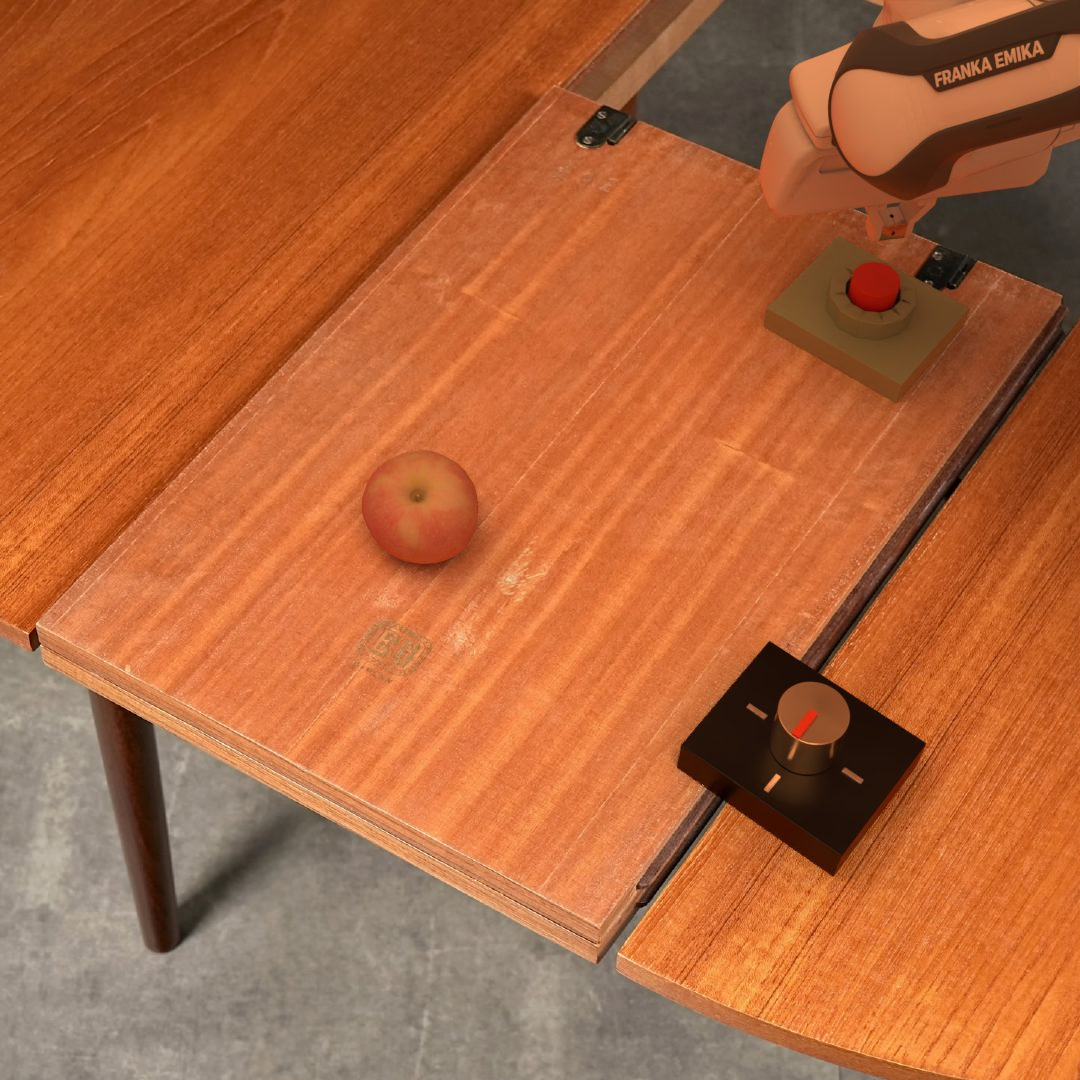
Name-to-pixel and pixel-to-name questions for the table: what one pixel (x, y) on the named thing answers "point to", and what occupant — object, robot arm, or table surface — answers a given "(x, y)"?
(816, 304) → the button block
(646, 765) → the table surface
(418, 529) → the apple
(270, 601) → the table surface
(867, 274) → the button
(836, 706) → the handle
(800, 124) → the robot arm
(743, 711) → the panel
